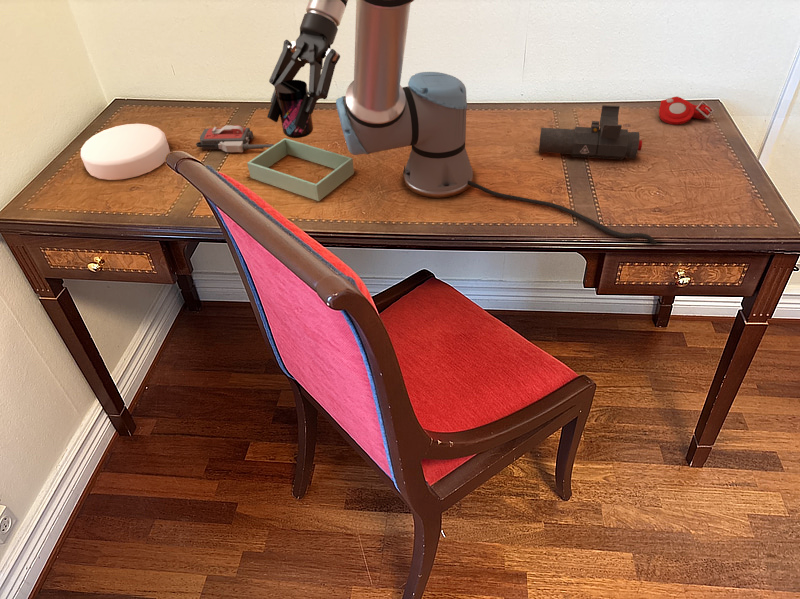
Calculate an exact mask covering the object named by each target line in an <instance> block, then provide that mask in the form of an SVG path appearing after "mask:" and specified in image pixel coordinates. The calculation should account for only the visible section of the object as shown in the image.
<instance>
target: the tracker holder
mask: <svg viewBox="0 0 800 599" xmlns="http://www.w3.org/2000/svg"><path fill="white" fill-rule="evenodd" d="M714 111H715V110H714V109H713V108H712V107H711V106H710V105H708V104H707V103H706V102H705V101H704V100H702V101H701V102H699V103H698V104H693V103H691V102H690V101H688V100H686V99H684V98H682V97H680V96H673V97H670V98H666V99H662V100H661V101H660V105H659V109H658V117H659V119H660V120H661V121H662V122H663V123H665V124H669V125H676V126H677V125H682V124H683V125H684V124H685V123H687V122H689V121H690V120H691V119H699V120H705V119H708V118H709V117H710V116H711V115H712V114H713V113H714Z"/></svg>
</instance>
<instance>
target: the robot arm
mask: <svg viewBox="0 0 800 599" xmlns="http://www.w3.org/2000/svg"><path fill="white" fill-rule="evenodd" d="M414 1H415V0H356V1H355V4H356V5H355V31H354V32H355V33H354V35H355V36H354V63H353V64H354V67H353V80H352V81H351V82H350V83H349V85H348V86H347V88H346V91H345V95H342V96H341V97H338V98H336V100H335V107H336V110H337V115H338V118H339V122H340V126H341V131H342V134H343V137H344V141H345V143H346V148H347V150H348V152H349V153H350V154H352V155H353V156H358V155H359V156H360V155H370V154H375V153H379V152H385V151H389V150H395V149H400V148H404V147H405V148H406V147H411V149H410V152H409V155H408V159H407V162H406V164H405V165H404V167H403V171H402V172H403V173H402V174H403V175H402V176H403V177H404V185H405V186H406V188H407V189H408V190H410V191H411V192H412V193H414V194H416V195H418V196H422V197H426V198H433V199H435V198H436V199H437V198H438V199H439V198H440V199H442V198H450V197H454V196H457V195H459V194H462V193H464V192H465V191H467V190H468V189H469V188H470V187H473V188H474V189H477V190H478V191H479V190H480V191H482V192H484V193H486V194H488V195H490V196H493V197H496V198H500V199H505V200H510V201H511V200H512V201H516V202H521V203H526V204H532V205H536V206H537V205H538V206H544V207H548V208H553V209H555V210H558V211H561V212H563V213H566V214H569V215H571V216H572V217H575V218H577V219H579V220H581V221H583V222H585V223H587V224H589V225H591V226H593V227H595V228H597V229H599V230H600V231H602V232H604V233H606V234H609V235H610V236H613V237H615V238H616V237H617V238H621V239H645V240H647V241H648V242H649V243H650V244H652V245H657V241H656V240H655V238H654V237H652V236H651V235H649V234H647V233H642V232H632V233H631V232H629V233H628V232H626V233H624V232H619V231H616V230H614V229H611V228H608V227H607V226H605V225H603V224H601V223H599V222H598V221H595V220H594V219H592V218H590V217H587V216H585V215H584V214H582V213H579V212H577V211H575V210H573V209H570V208H568V207H565V206H562V205H560V204H557V203H553V202H549V201H545V200H538V199H533V198H528V197H522V196H518V195H511V194H506V193H502V192H497V191H494V190H492V189H489V188H487V187H485V186H483V185H481V184H478V183H476V182H474V181H473V180H474V171H473V166H472V165H471V161H470V158H469V154H468V152H467V149H466V137H467V136H466V135H467V112H468V110H467V109H468V101H467V100H468V98H467V87H466V86H465V83H464V82H463V81H462V80H461V79H459V78H457V77H456V76H454V75H451V74H448V73H444V72H438V71H422V72H418V73H417V72H416V73H414V75H411V76H410V78H409V79H408V82H407V86H403V87H402V86H401V80H402V74H403V73H402V72H403V66H404V65H403V64H404V58H405V57H404V56H405V50H406V49H405V48H406V42H407V34H408V27H409V19H410V11H411V5H412V3H413V2H414ZM348 2H349V0H309V1H308V3H307V6H306V9H305V13H304V15H303V18H302V20H301V23H300V25H299V36H298V37H297V38H296V40H295V41H294V40H293V41H289V39H285V40H284V41H283V46H282V51H281V53H280V55H279V57H278V59H277V62H276V64H275V65H274V66H275V67H274V69H273V71H272V73H271V75H270V77H269V80H268V82H269V84H271V85H272V86H273V87H274V88H275V86H276V85H277V84H279V83H281V82H283V81H287V80H295V77H296V76H297V74H298V73H299V71H301V68H304V67H305V65H306V64H309V76H308V92H307V94H308V96H307V95H304V98H303V101H302V103H301V106H300V109H299V112H298V115H297V117H296V120H295V123H294V125H296V126H297V127H299V128H300V129H303V130H304V128H305V125H306V123H307V120H308V117H309V114H311V115H312V114H313V113H314V110H315V107H316V105H317V102H318V101H319V100H322V99H323V100H327V98H328V95H329V92H330V87H331V83H332V80H333V76H334V72H335V70H336V65H337V64H338V62H339V60H340V59H341V55H340V53H339V52H337V51H336V50H335V49H334V48H331V46H332V45H333V44H334V42H335V40H336V36H337V33H338V30H339V28H338V27H339V26H341V25H340V24H341V22H342V19H343V16H344V13H345V10H346V8H347V6H348ZM270 103H271V104H270V108H269V111H268V113H267V116H266V117H267V118H268V119H269V120H271V121H272V122H275V123H278V122H279V119H280V112H279V107H278V101H277V97H276V92H275V89H274V90H273V93H272V96H271V98H270Z"/></svg>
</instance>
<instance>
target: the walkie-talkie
mask: <svg viewBox="0 0 800 599" xmlns="http://www.w3.org/2000/svg"><path fill="white" fill-rule="evenodd" d="M253 139H254V132H253V131H252V130H251V128H250V127H243V126H242V125H240V124H235V125H233V124H231V125H230V124H229V125H228V124H227V125H224V126H223V127H217V126H214V127H212V128H211V127H210V128H204V129H203V130H202V133H200V136H199V141H198V142H196V143H195V145H196V147H197V148H202V149H203V150H204V151H206V150H207V151H209V150H214V151H215V150H220V151H223V152H225V153H243V152H244V151H246V150H262V149H264V148H266V149H269V148H270V147H272V146H273V145H275V144H273V143H265V144H263V143H262V144H258V143H257V144H250V141H251V140H253Z"/></svg>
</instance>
